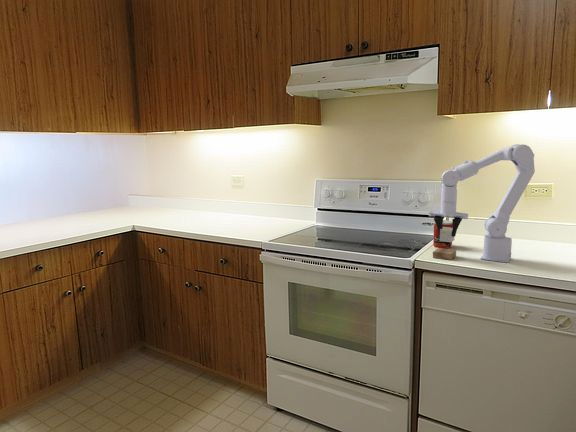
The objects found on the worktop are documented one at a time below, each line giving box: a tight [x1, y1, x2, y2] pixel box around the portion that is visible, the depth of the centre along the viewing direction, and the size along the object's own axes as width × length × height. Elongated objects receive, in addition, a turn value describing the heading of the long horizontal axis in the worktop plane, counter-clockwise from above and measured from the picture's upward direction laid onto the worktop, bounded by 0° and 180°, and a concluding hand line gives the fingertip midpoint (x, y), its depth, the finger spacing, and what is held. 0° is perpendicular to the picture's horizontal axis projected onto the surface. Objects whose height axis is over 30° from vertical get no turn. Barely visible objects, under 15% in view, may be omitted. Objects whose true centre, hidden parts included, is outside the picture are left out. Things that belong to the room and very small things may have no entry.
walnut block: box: [432, 247, 457, 261], centre depth 165 cm, size 7×7×2 cm
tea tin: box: [440, 227, 456, 243], centre depth 165 cm, size 5×5×5 cm
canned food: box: [432, 219, 453, 249], centre depth 181 cm, size 8×8×11 cm
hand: (447, 235), depth 164 cm, fingers closed on tea tin, 4 cm apart
